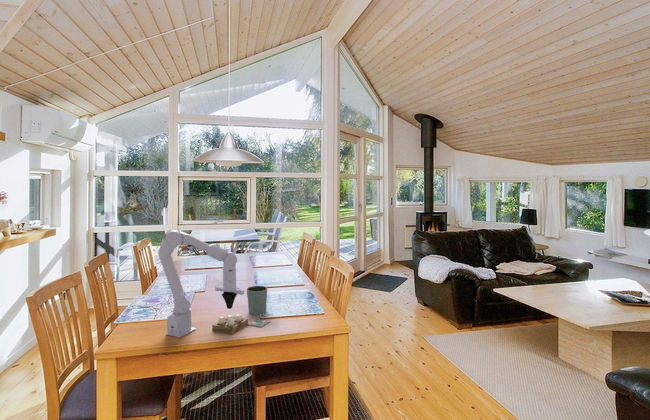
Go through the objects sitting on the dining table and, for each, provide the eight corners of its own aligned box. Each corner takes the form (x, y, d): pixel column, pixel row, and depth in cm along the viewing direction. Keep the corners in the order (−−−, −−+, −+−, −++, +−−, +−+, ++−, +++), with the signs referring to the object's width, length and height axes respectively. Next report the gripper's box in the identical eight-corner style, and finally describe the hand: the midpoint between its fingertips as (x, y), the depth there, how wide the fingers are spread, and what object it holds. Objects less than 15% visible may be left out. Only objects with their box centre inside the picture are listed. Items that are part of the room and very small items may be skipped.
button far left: (230, 324, 161) (230, 317, 160) (225, 323, 162) (225, 316, 161) (234, 322, 163) (234, 315, 163) (229, 321, 164) (229, 314, 164)
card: (261, 327, 159) (261, 326, 159) (248, 324, 162) (248, 323, 162) (269, 321, 166) (269, 320, 166) (256, 319, 168) (256, 318, 168)
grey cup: (263, 316, 172) (262, 292, 171) (243, 314, 174) (243, 290, 173) (270, 309, 182) (270, 286, 181) (251, 307, 184) (251, 284, 183)
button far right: (239, 323, 159) (239, 316, 158) (234, 322, 160) (234, 315, 160) (243, 320, 161) (243, 314, 161) (238, 319, 162) (238, 313, 162)
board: (231, 334, 152) (231, 328, 151) (212, 330, 155) (212, 325, 155) (247, 324, 163) (247, 319, 162) (229, 320, 166) (229, 315, 166)
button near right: (231, 327, 154) (231, 320, 153) (226, 326, 155) (226, 319, 154) (235, 325, 156) (235, 318, 156) (230, 324, 157) (230, 317, 157)
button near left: (222, 325, 155) (222, 319, 155) (217, 324, 156) (217, 318, 156) (226, 323, 158) (226, 317, 158) (221, 322, 159) (221, 316, 159)
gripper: (248, 278, 162) (248, 307, 163) (222, 274, 167) (222, 303, 168) (238, 282, 155) (238, 312, 156) (212, 278, 161) (212, 307, 162)
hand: (229, 308), depth 162 cm, fingers closed
